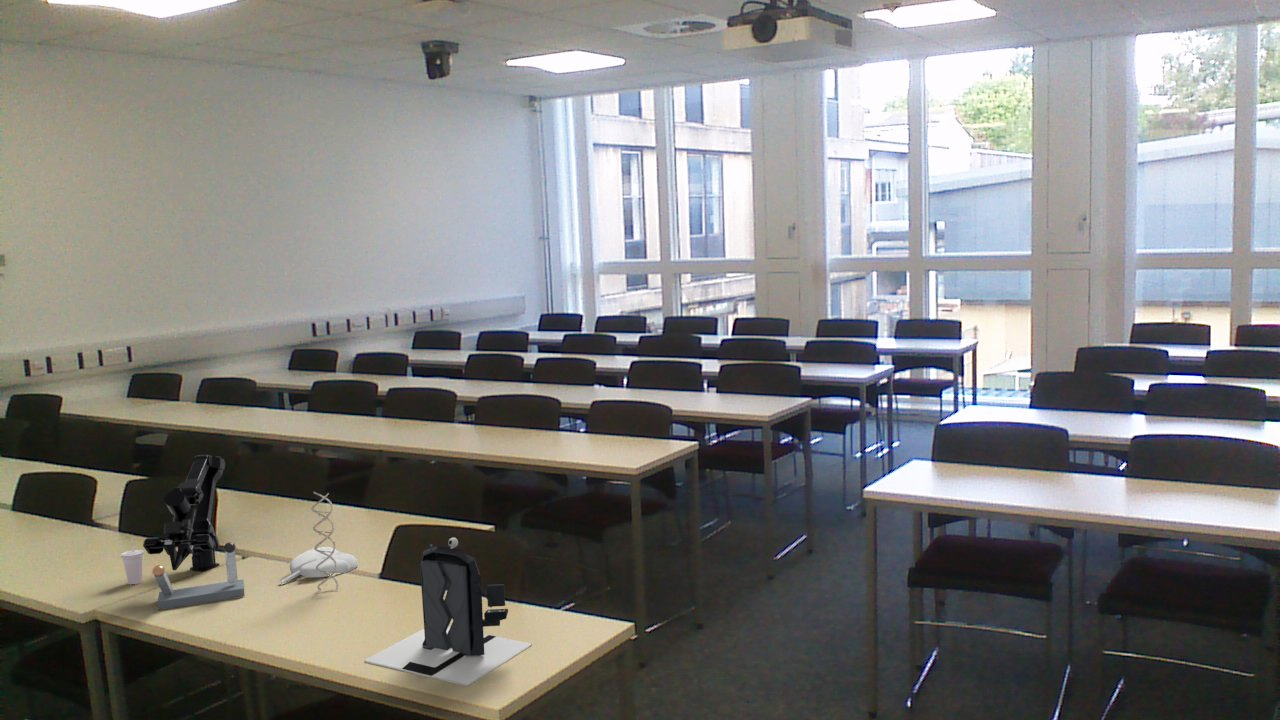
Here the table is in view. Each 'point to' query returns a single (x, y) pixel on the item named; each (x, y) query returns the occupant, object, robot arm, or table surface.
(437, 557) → the slab on white base
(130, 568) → the smoothie
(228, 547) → the beige grey bar
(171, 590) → the copper knob rod
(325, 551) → the dna model
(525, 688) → the table surface
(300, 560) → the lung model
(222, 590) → the switch board
